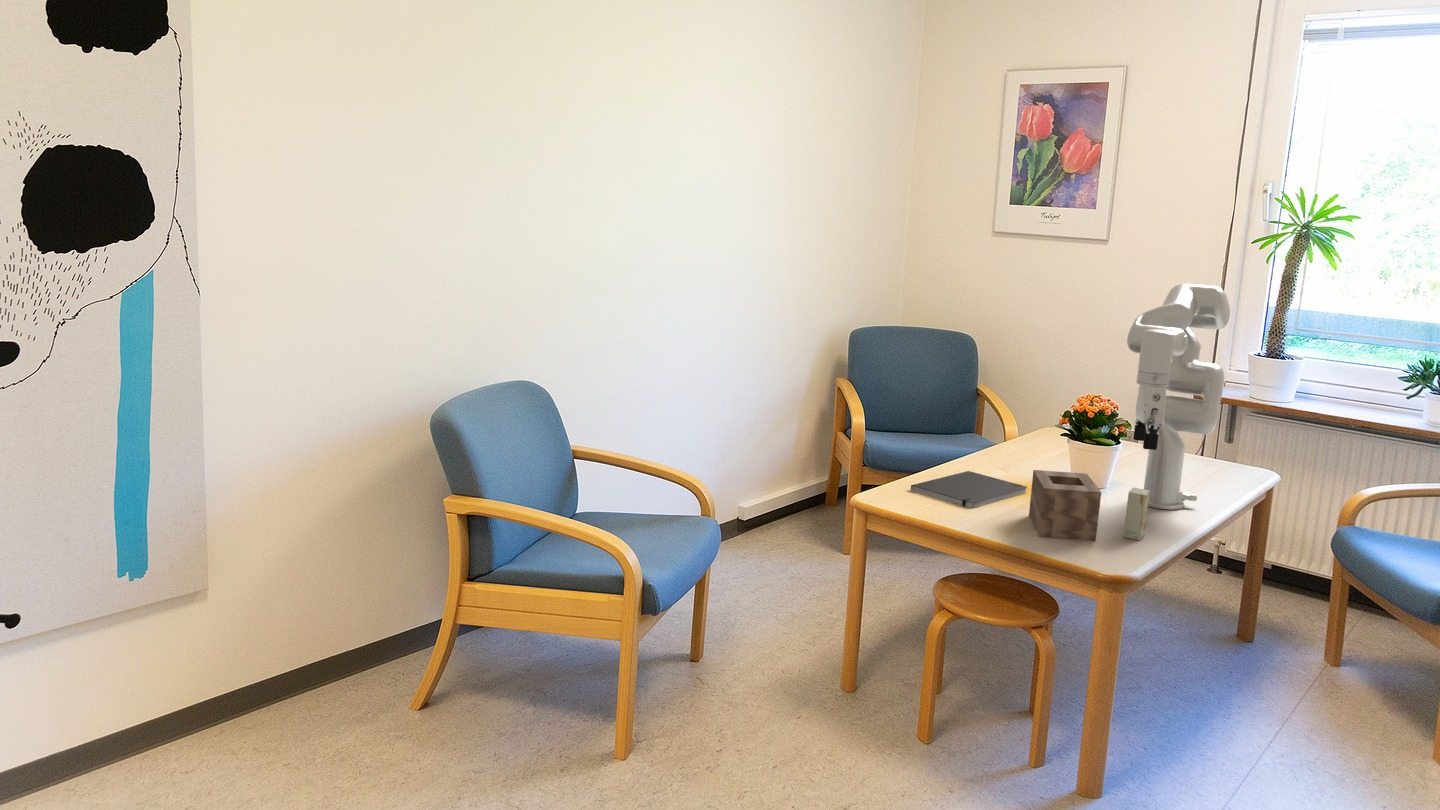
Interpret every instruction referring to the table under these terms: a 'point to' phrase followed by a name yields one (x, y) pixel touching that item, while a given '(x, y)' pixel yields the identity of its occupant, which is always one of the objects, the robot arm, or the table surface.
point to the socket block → (1064, 505)
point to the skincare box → (1136, 513)
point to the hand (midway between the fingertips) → (1144, 444)
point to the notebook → (969, 489)
